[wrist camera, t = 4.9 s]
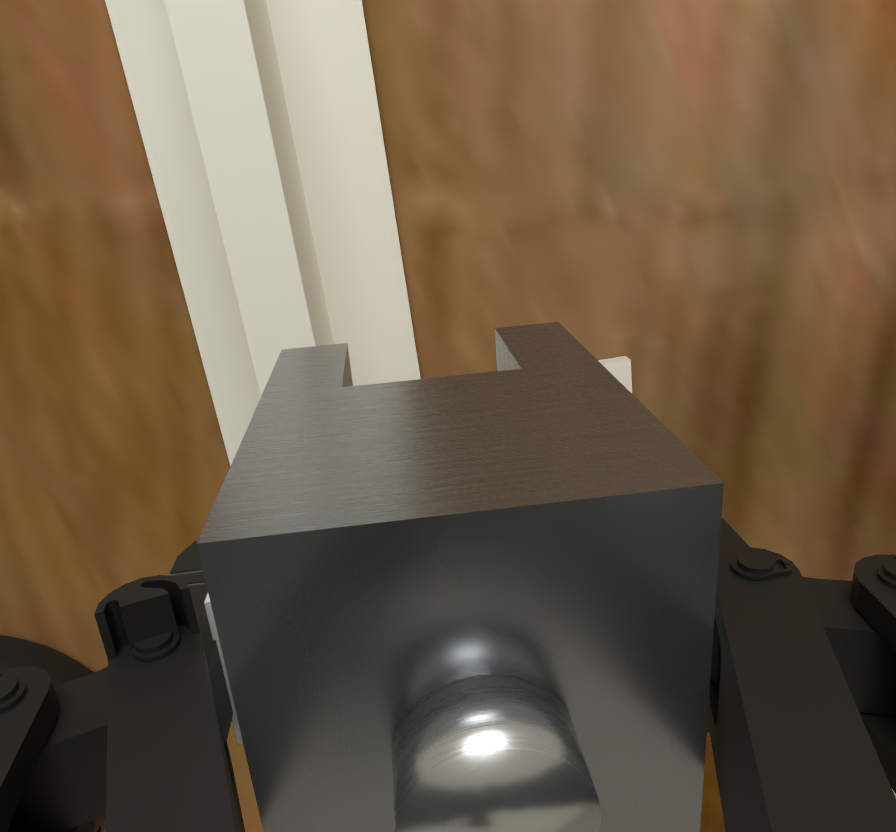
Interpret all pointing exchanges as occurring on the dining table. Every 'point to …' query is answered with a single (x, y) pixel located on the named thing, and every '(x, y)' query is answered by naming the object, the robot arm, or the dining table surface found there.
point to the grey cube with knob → (467, 598)
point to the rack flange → (270, 186)
